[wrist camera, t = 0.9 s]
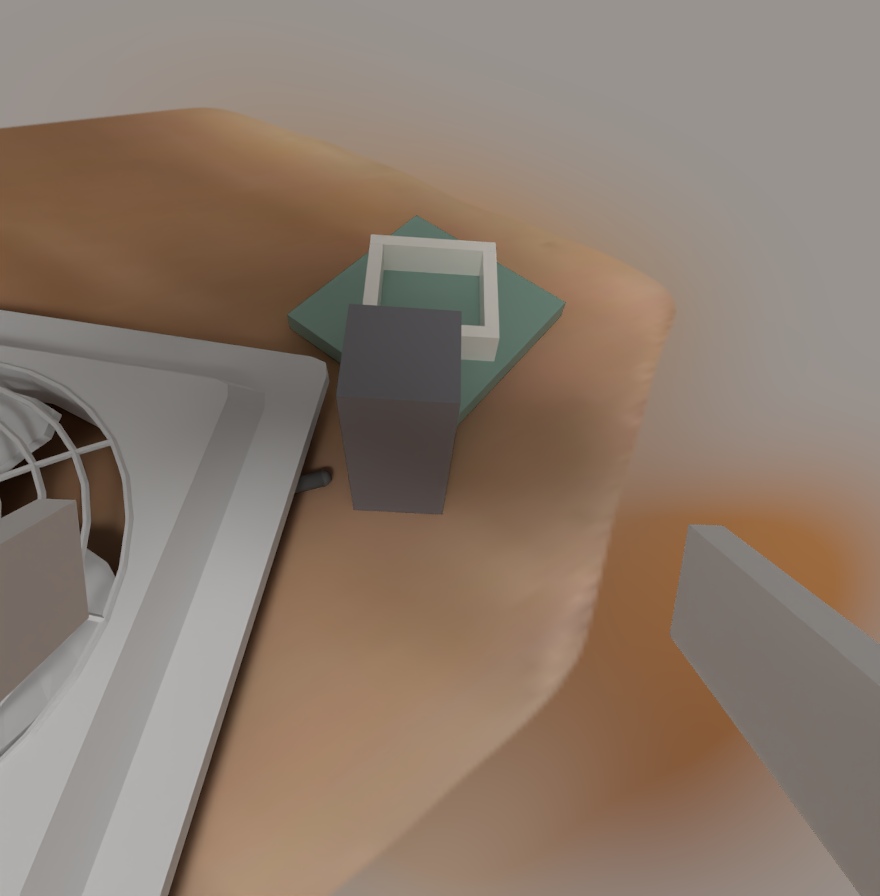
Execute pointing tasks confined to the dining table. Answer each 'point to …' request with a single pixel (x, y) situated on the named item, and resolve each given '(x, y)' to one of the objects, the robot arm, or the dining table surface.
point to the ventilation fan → (142, 589)
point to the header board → (438, 301)
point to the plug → (399, 405)
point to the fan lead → (313, 481)
